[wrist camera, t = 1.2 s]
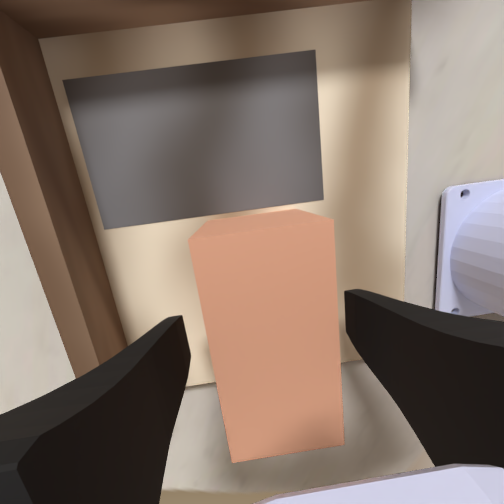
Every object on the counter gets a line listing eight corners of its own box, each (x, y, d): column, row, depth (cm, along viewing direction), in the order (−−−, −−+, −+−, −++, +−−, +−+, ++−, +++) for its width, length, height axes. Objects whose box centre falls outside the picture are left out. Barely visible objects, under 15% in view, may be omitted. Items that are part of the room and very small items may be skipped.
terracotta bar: (207, 220, 12) (187, 239, 7) (295, 208, 12) (333, 219, 8) (233, 371, 14) (232, 463, 10) (308, 360, 15) (344, 444, 10)
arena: (397, -20, 11) (467, -113, 8) (392, 343, 16) (435, 384, 12) (18, 24, 11) (-82, -54, 7) (128, 383, 15) (97, 438, 12)
